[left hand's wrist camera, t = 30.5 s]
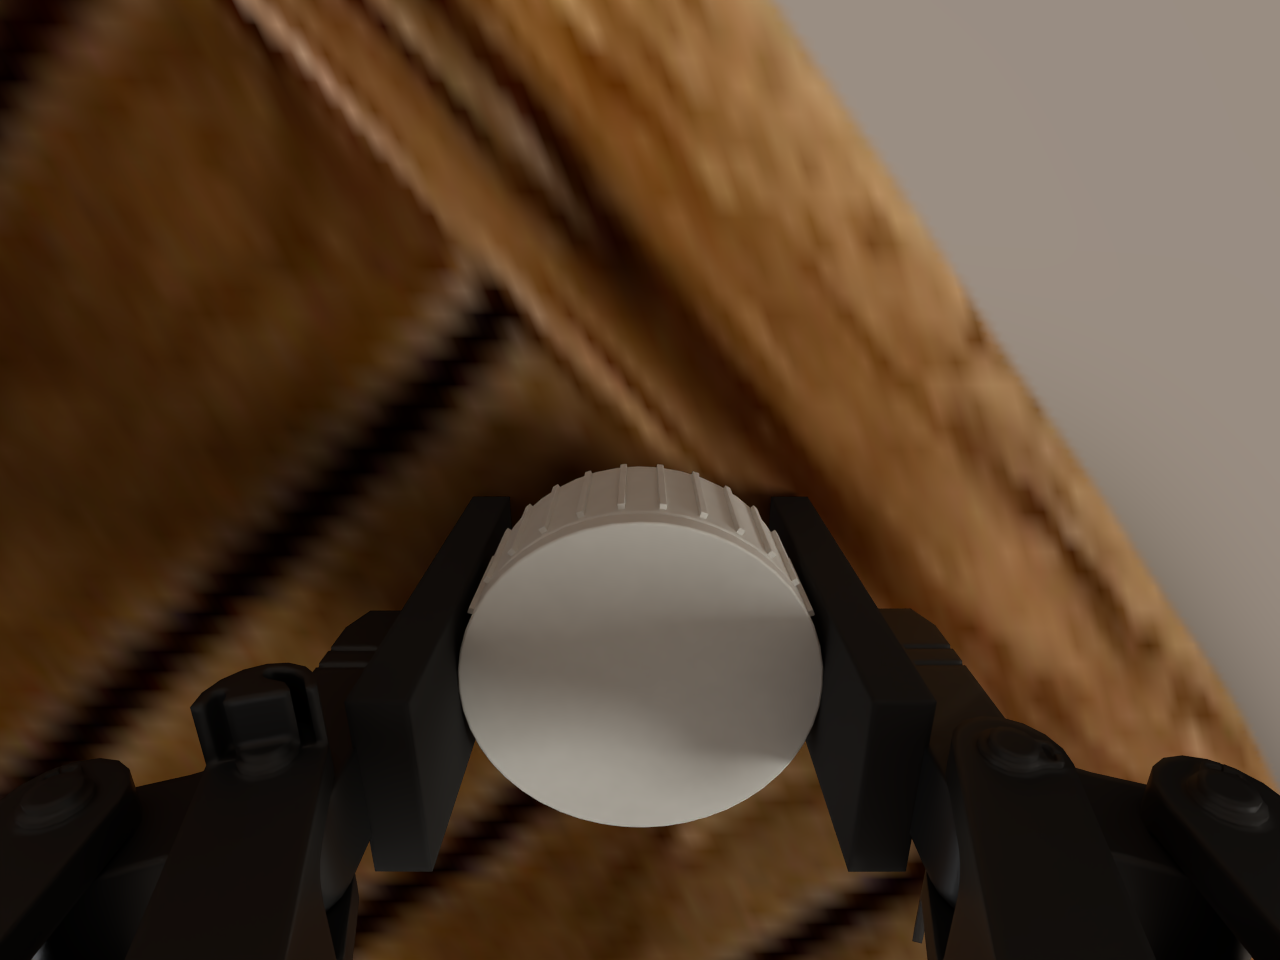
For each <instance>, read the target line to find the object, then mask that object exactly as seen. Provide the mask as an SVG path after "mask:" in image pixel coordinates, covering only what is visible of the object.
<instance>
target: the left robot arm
mask: <svg viewBox="0 0 1280 960" xmlns="http://www.w3.org/2000/svg"><path fill="white" fill-rule="evenodd" d="M507 528H509V529H510V530H512V526H511V512H510V498H509V497H473V498H472V500H471V501H470V503H469V504H468V506H467V507H466V509H465V511H464V512H463V514H462V515H461V517H460V519H459V520H458V522H457V523H456V525H455V526H454V528H453V530H452V531H451V533H450V534H449V536H448V538H447V539H446V541H445V542H444V544H443V546H442V547H441V549H440V550H439V552H438V553H437V555H436V557H435V558H434V560H433V561H432V563H431V565H430V566H429V568H428V569H427V571H426V573H425V574H424V576H423V577H422V579H421V580H420V582H419V584H418V585H417V587H416V588H415V590H414V592H413V593H412V595H411V596H410V598H409V599H408V601H407V603H406V604H405V606H404V607H403V609H402V611H369V612H368V613H366V614H365V615H363V616H362V617H361V618H359V619H358V620H356V621H355V622H353V623H352V624H350V625H349V626H347V627H346V628H345V629H344V631H343V632H342V633H341V635H340V636H339V637H338V639H337V640H336V641H335V643H334V644H333V645H332V647H331V651H328V652H327V654H326V655H325V656H324V658H323V659H322V660H321V662H320V663H319V668H315V670H314V671H313V672H311V671H310V670H309V669H308V668H307V667H305V666H301V665H296V664H292V663H275V664H265V665H261V666H257V667H253V668H249V669H244V670H242V671H240V672H237V673H235V674H233V675H230V676H228V677H226V678H224V679H221V680H220V681H218V682H217V683H215V684H214V685H213V686H211V687H210V688H208V689H207V690H205V691H204V692H202V693H201V695H200V696H199V697H198V698H197V700H196V701H195V702H194V703H193V704H192V706H191V707H190V709H191V712H192V716H193V719H194V723H195V727H196V730H197V734H198V737H199V741H200V744H201V748H202V751H203V755H204V759H205V762H206V767H205V770H204V771H203V772H199V773H196V774H192V775H188V776H184V777H179V778H175V779H170V780H166V781H161V782H157V783H152V784H148V785H143V786H139V787H135V785H134V782H133V779H132V776H131V773H130V770H129V768H127V767H126V766H125V765H124V764H122V763H121V762H120V761H117V760H110V759H102V758H98V759H91V760H85V761H78V762H73V763H70V764H67V765H64V766H62V767H57V768H55V769H52V770H50V771H47V772H45V773H43V774H41V775H39V776H37V777H35V778H34V779H32V780H30V781H28V782H26V783H24V784H22V785H20V786H19V787H17V788H16V789H15V790H13V791H12V792H11V793H9V794H8V795H7V796H5V797H4V798H3V799H1V800H0V960H353V951H354V942H355V932H356V923H357V914H358V905H359V895H358V887H357V881H356V876H355V872H356V870H357V867H358V865H359V863H360V861H361V858H362V856H363V854H364V852H365V849H366V847H367V845H368V843H369V841H370V845H371V851H372V856H373V862H374V867H375V871H433V868H434V865H435V862H436V859H437V856H438V853H439V850H440V846H441V843H442V840H443V837H444V834H445V831H446V828H447V825H448V822H449V819H450V816H451V813H452V810H453V807H454V804H455V800H456V797H457V794H458V791H459V788H460V785H461V782H462V779H463V776H464V773H465V770H466V767H467V764H468V761H469V758H470V754H471V751H472V748H473V745H474V742H475V737H474V735H473V734H472V732H471V730H470V728H469V725H468V722H467V720H466V717H465V714H464V712H463V708H462V703H461V698H460V693H459V683H458V663H459V654H460V648H461V644H462V640H463V637H464V633H465V630H466V627H467V625H468V623H469V620H470V618H471V616H472V614H470V613H468V609H469V607H470V604H471V602H472V600H473V598H474V596H475V593H476V591H477V589H478V587H479V585H480V582H481V580H482V578H483V576H484V573H485V571H486V569H487V567H488V565H489V562H490V560H491V558H492V556H494V555H495V553H496V551H497V548H498V546H499V544H500V542H501V539H502V537H503V535H504V533H505V531H506V530H507ZM769 530H770V532H772V531H774V530H775V531H776V532H777V534H778V536H779V538H780V540H781V543H782V545H783V547H784V549H785V551H786V554H787V556H788V558H790V560H791V562H792V564H793V567H794V569H795V571H796V573H797V576H798V578H799V580H800V582H801V584H802V587H803V589H804V591H805V593H806V595H807V598H808V600H809V602H810V604H811V606H812V609H813V611H814V614H815V615H814V616H811V619H812V622H813V624H814V626H815V630H816V633H817V636H818V639H819V643H820V646H821V653H822V660H823V687H822V694H821V700H820V706H819V709H818V712H817V715H816V718H815V721H814V724H813V726H812V728H811V730H810V732H809V734H808V736H807V738H806V743H807V746H808V749H809V752H810V756H811V759H812V762H813V765H814V768H815V771H816V774H817V777H818V780H819V783H820V786H821V789H822V792H823V795H824V798H825V801H826V804H827V807H828V811H829V814H830V817H831V820H832V823H833V826H834V829H835V832H836V835H837V838H838V841H839V844H840V847H841V850H842V853H843V856H844V859H845V862H846V866H847V869H848V872H902V871H906V867H907V861H908V856H909V851H910V845H911V840H913V842H914V844H915V846H916V849H917V851H918V853H919V855H920V858H921V860H922V862H923V864H924V866H925V869H926V871H925V876H924V881H923V886H922V891H921V896H920V901H919V906H918V912H917V917H916V922H915V927H914V934H913V941H914V942H918V943H922V940H923V935H924V931H925V940H926V949H927V958H928V960H1250V959H1251V957H1252V958H1253V959H1254V960H1280V795H1278V794H1277V793H1276V792H1274V791H1273V790H1272V789H1270V788H1269V787H1268V786H1266V785H1265V784H1264V783H1262V782H1260V781H1258V780H1256V779H1254V778H1252V777H1250V776H1248V775H1247V774H1245V773H1243V772H1241V771H1239V770H1237V769H1235V768H1232V767H1230V766H1227V765H1223V764H1220V763H1218V762H1214V761H1211V760H1208V759H1203V758H1196V757H1189V756H1183V755H1182V756H1174V757H1167V758H1163V759H1161V760H1160V761H1159V762H1158V763H1156V764H1155V765H1154V766H1153V767H1152V770H1151V773H1150V776H1149V779H1148V782H1147V785H1146V784H1141V783H1137V782H1132V781H1128V780H1123V779H1119V778H1114V777H1110V776H1105V775H1101V774H1096V773H1092V772H1088V771H1085V770H1081V769H1078V768H1075V766H1074V764H1073V762H1072V761H1071V760H1070V758H1069V757H1068V755H1067V754H1066V752H1065V751H1064V750H1063V748H1061V747H1060V746H1059V745H1058V744H1056V743H1055V742H1054V741H1053V740H1051V739H1050V738H1049V737H1048V736H1046V735H1045V734H1043V733H1041V732H1039V731H1037V730H1035V729H1033V728H1031V727H1029V726H1027V725H1025V724H1023V723H1019V722H1016V721H1012V720H1008V719H1005V718H1004V716H1003V715H1002V714H1001V712H1000V711H999V710H998V708H997V707H996V706H995V704H994V703H993V702H992V700H991V699H990V698H989V696H988V695H987V694H986V692H985V691H984V690H983V688H982V687H981V686H980V684H979V683H978V682H977V680H976V679H975V678H974V676H973V675H972V674H971V672H970V671H969V670H968V668H967V667H966V666H965V665H962V660H961V659H960V658H959V656H958V655H957V654H956V652H955V651H954V650H953V649H950V644H949V643H948V642H947V640H946V639H945V638H944V636H943V635H942V634H941V632H940V631H939V630H938V628H937V627H936V626H935V625H934V624H932V623H931V622H930V621H928V620H927V619H925V618H924V617H922V616H921V615H919V614H918V613H916V612H915V611H913V610H912V609H878V608H877V606H876V605H875V603H874V602H873V600H872V598H871V597H870V595H869V594H868V592H867V590H866V589H865V587H864V586H863V584H862V583H861V581H860V579H859V578H858V576H857V575H856V573H855V571H854V570H853V568H852V567H851V565H850V564H849V562H848V560H847V559H846V557H845V556H844V554H843V552H842V551H841V549H840V548H839V546H838V545H837V543H836V541H835V540H834V538H833V537H832V535H831V533H830V532H829V530H828V529H827V527H826V526H825V524H824V522H823V521H822V519H821V518H820V516H819V514H818V513H817V511H816V510H815V508H814V507H813V505H812V503H811V502H810V500H809V499H808V497H771V506H770V520H769Z"/></svg>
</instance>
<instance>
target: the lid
mask: <svg viewBox="0 0 1280 960" xmlns="http://www.w3.org/2000/svg"><path fill="white" fill-rule="evenodd" d="M468 613H470V614H472V616H471V618H470V620H469V623H468V625H467V627H466V630H465V633H464V637H463V640H462V644H461V648H460V654H459V663H458V683H459V693H460V698H461V703H462V708H463V712H464V714H465V717H466V720H467V722H468V725H469V728H470V730H471V732H472V734H473V735H474V737H475V739H476V741H477V743H478V745H479V746H480V748H481V749H482V751H483V752H484V753H485V755H486V756H487V757H488V759H489V760H490V761H491V763H492V764H493V765H494V766H495V767H496V768H497V769H498V770H499V771H500V772H501V773H502V774H503V775H504V776H505V777H506V778H507V779H508V780H509V781H511V782H512V783H513V784H514V785H516V786H517V787H518V788H519V789H521V790H522V791H523V792H525V793H527V794H528V795H530V796H531V797H533V798H534V799H536V800H538V801H539V802H541V803H543V804H545V805H547V806H549V807H551V808H554V809H556V810H558V811H560V812H563V813H566V814H568V815H571V816H574V817H577V818H580V819H584V820H588V821H592V822H596V823H601V824H608V825H615V826H625V827H655V826H667V825H673V824H680V823H686V822H690V821H693V820H697V819H701V818H705V817H708V816H710V815H713V814H716V813H718V812H721V811H723V810H726V809H728V808H730V807H732V806H734V805H736V804H738V803H740V802H742V801H744V800H746V799H747V798H749V797H750V796H752V795H753V794H755V793H756V792H758V791H759V790H761V789H762V788H764V787H765V786H766V785H767V784H768V783H769V782H771V781H772V780H773V779H774V778H775V777H777V776H778V775H779V774H780V773H781V772H782V770H783V769H784V768H785V767H786V766H787V765H788V764H789V763H790V762H791V761H792V760H793V758H794V757H795V755H796V754H797V752H798V751H799V749H800V748H801V747H802V745H803V744H804V742H805V740H806V738H807V736H808V734H809V732H810V730H811V728H812V726H813V724H814V721H815V718H816V715H817V712H818V709H819V706H820V700H821V694H822V687H823V660H822V653H821V646H820V643H819V639H818V636H817V633H816V630H815V626H814V624H813V622H812V619H811V616H814V615H815V614H814V611H813V609H812V606H811V604H810V602H809V600H808V598H807V595H806V593H805V591H804V589H803V587H802V584H801V582H800V580H799V578H798V576H797V573H796V571H795V569H794V567H793V564H792V562H791V560H790V558H788V556H787V554H786V551H785V549H784V547H783V545H782V543H781V540H780V538H779V536H778V534H777V532H776V531H775V530H774V531H772V532H770V530H769V529H768V527H767V526H766V524H765V523H764V522H763V521H762V519H761V517H760V514H759V512H758V510H757V508H756V507H755V506H752V507H751V508H750V507H749V506H748V505H746V504H745V503H744V502H743V501H741V500H740V499H739V498H738V497H737V496H735V495H733V494H732V491H731V488H729V487H728V486H726V485H725V487H724V488H722V487H721V486H719V485H717V484H714V483H712V482H710V481H708V480H706V479H703V478H701V477H699V473H697V472H694V471H693V472H692V474H688V473H685V472H682V471H677V470H671V469H666V468H664V466H663V465H660V464H657V467H640V466H637V467H627V464H621V465H620V468H615V469H610V470H605V471H600V472H595V473H592V472H591V471H588V472H585V475H584V477H581V478H578V479H575V480H573V481H571V482H569V483H567V484H565V485H563V486H561V487H560V486H559V485H558V484H557V485H555V486H554V487H553V488H552V491H551V493H550V494H548V495H546V496H545V497H543V498H542V499H541V500H539V501H538V502H537V503H536V504H535V505H534V506H532V505H531V504H529V505H528V506H527V507H526V508H525V510H524V513H523V515H522V518H521V519H520V520H519V521H518V522H517V523H516V525H515V526H514V527H513V529H512V530H510V529H509V528H507V530H506V531H505V533H504V535H503V537H502V539H501V542H500V544H499V546H498V548H497V551H496V553H495V555H494V556H492V558H491V560H490V562H489V565H488V567H487V569H486V571H485V573H484V576H483V578H482V580H481V582H480V585H479V587H478V589H477V591H476V593H475V596H474V598H473V600H472V602H471V604H470V607H469V609H468Z"/></svg>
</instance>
